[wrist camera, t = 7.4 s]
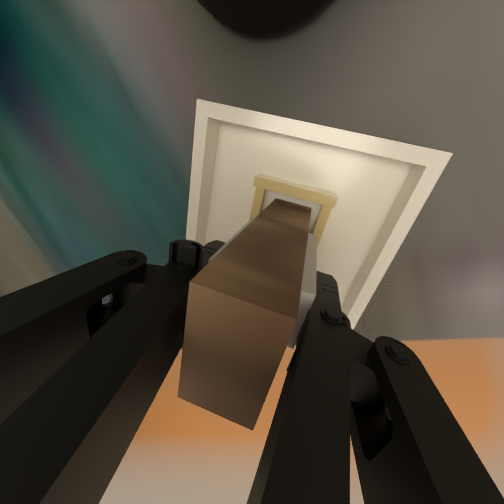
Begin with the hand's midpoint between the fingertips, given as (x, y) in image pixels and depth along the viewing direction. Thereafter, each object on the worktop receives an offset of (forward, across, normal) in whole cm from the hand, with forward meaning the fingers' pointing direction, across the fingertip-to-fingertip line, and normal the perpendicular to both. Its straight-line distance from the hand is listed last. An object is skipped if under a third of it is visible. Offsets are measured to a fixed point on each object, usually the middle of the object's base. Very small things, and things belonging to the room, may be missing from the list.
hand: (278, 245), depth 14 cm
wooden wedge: (+3, 0, 0) cm, 3 cm away
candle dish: (+4, 0, 0) cm, 4 cm away
